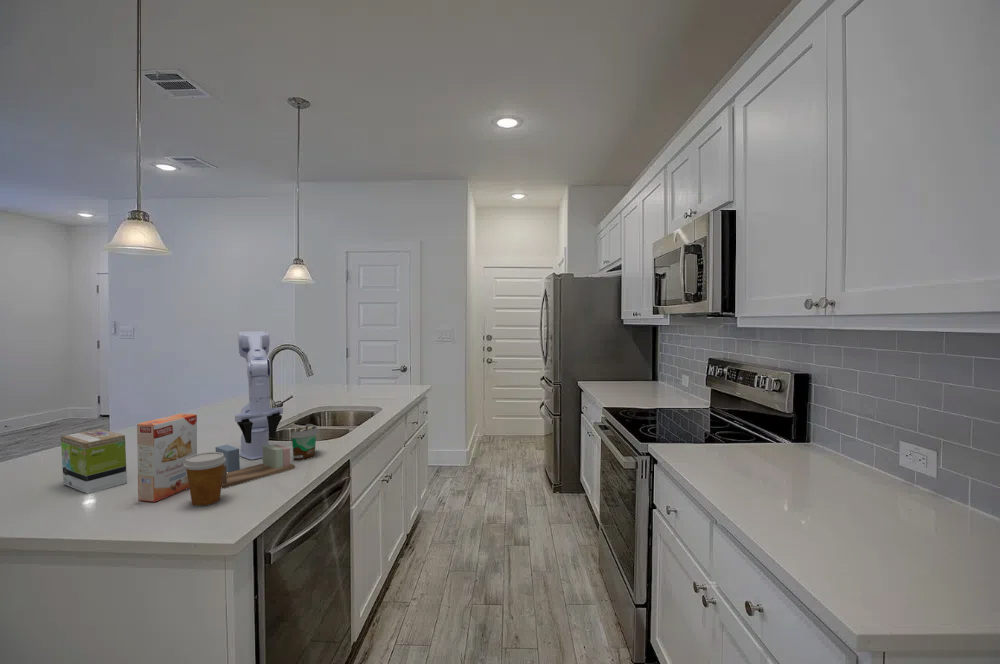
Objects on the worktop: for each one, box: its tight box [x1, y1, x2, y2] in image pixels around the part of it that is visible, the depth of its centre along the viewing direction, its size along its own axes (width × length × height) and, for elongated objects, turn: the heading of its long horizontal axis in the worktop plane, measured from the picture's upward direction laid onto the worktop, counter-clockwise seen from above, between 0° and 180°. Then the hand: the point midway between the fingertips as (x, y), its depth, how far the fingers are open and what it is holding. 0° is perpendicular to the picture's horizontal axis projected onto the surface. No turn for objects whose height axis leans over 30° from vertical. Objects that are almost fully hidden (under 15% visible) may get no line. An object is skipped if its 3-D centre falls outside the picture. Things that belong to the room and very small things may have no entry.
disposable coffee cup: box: [184, 451, 226, 507], centre depth 127 cm, size 10×10×12 cm
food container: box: [290, 423, 319, 461], centre depth 167 cm, size 12×6×10 cm, turn 179°
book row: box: [262, 444, 291, 469], centre depth 155 cm, size 8×4×6 cm, turn 55°
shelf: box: [221, 463, 296, 489], centre depth 148 cm, size 10×22×6 cm, turn 145°
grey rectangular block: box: [215, 444, 241, 472], centre depth 153 cm, size 8×4×7 cm, turn 55°
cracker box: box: [136, 413, 198, 503], centre depth 133 cm, size 14×6×21 cm, turn 168°
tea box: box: [60, 428, 128, 495], centre depth 140 cm, size 15×10×15 cm, turn 62°
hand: (260, 440), depth 152 cm, fingers open, 7 cm apart
